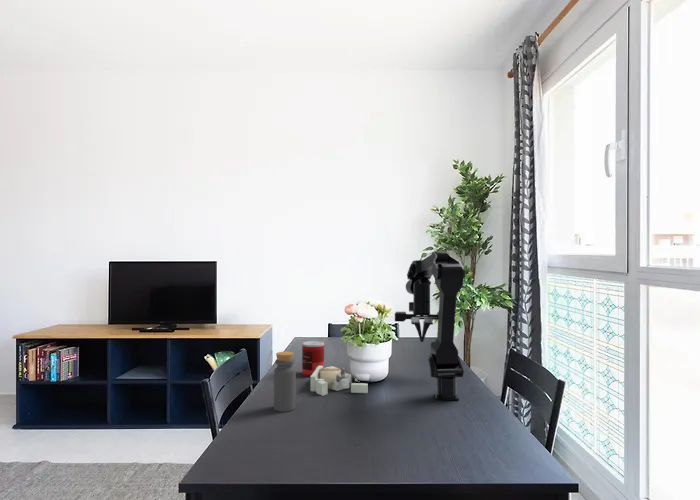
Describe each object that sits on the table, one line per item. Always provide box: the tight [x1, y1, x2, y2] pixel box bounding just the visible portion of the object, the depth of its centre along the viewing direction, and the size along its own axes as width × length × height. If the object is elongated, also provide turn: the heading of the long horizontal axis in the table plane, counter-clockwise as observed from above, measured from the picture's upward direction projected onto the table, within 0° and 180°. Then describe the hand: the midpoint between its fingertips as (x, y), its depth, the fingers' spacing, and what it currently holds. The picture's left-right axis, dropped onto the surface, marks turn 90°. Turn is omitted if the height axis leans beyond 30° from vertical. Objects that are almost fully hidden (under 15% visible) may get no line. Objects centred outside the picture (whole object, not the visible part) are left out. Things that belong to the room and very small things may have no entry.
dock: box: [309, 366, 369, 396], centre depth 143 cm, size 22×18×4 cm
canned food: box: [301, 340, 325, 378], centre depth 157 cm, size 8×8×11 cm
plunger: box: [339, 367, 352, 384], centre depth 147 cm, size 5×2×4 cm, turn 39°
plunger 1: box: [332, 375, 350, 392], centre depth 139 cm, size 5×2×4 cm, turn 129°
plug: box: [319, 366, 341, 390], centre depth 143 cm, size 7×7×5 cm
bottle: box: [273, 351, 297, 413], centre depth 121 cm, size 6×6×15 cm
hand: (421, 341), depth 154 cm, fingers closed
